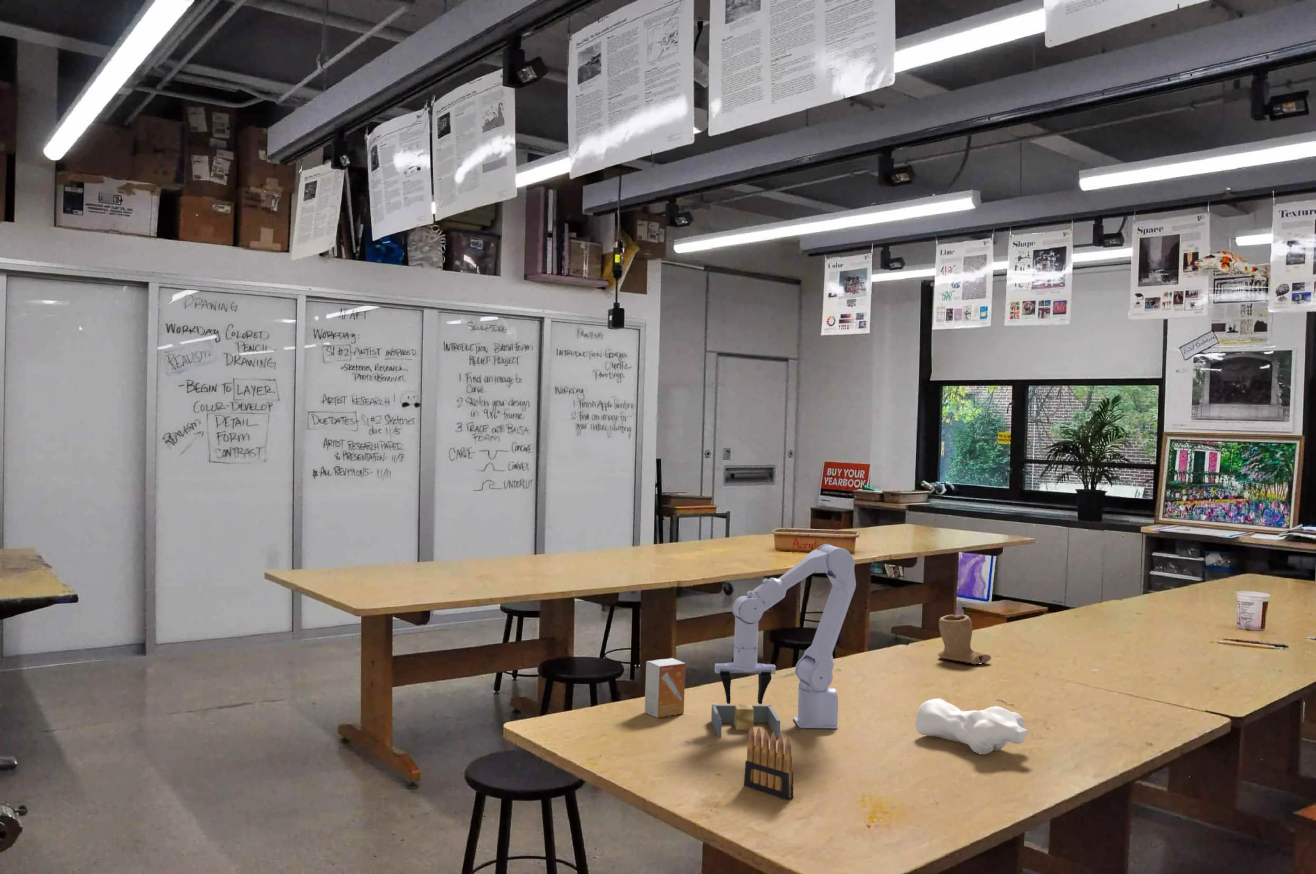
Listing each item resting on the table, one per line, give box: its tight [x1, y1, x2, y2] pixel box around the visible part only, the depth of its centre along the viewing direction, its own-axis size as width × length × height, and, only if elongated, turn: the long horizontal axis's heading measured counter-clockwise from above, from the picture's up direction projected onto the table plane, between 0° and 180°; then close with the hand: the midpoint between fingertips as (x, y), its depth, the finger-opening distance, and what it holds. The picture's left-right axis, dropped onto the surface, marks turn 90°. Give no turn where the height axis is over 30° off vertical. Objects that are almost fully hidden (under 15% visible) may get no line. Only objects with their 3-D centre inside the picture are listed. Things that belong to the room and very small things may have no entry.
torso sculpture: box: [914, 698, 1029, 755], centre depth 220 cm, size 18×10×25 cm
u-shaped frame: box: [710, 704, 781, 739], centre depth 230 cm, size 15×13×4 cm
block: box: [733, 704, 754, 731], centre depth 231 cm, size 4×4×5 cm
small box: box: [644, 657, 686, 719], centre depth 241 cm, size 8×6×13 cm
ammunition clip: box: [743, 726, 794, 801], centre depth 189 cm, size 11×2×12 cm, turn 48°
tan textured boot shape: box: [937, 614, 992, 665], centre depth 308 cm, size 15×12×15 cm
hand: (744, 703), depth 231 cm, fingers open, 7 cm apart
